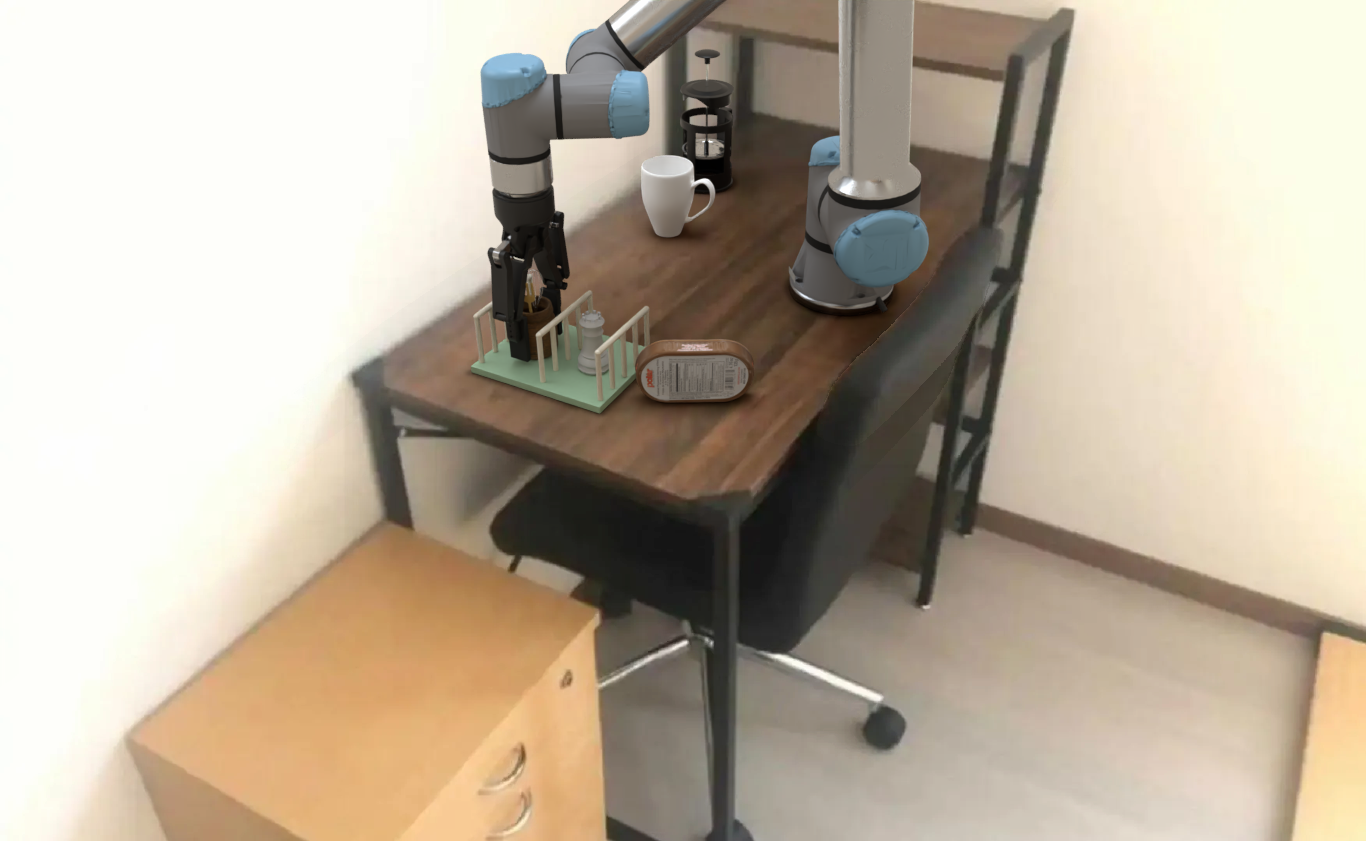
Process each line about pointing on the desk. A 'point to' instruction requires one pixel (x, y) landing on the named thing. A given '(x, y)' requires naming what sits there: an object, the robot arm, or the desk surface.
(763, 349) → the desk surface
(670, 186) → the mug
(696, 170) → the french press
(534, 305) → the utensil holder
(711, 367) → the tin
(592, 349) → the rook chess piece
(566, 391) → the drying rack
